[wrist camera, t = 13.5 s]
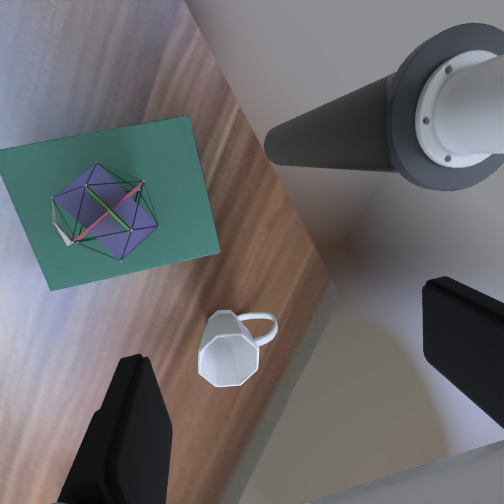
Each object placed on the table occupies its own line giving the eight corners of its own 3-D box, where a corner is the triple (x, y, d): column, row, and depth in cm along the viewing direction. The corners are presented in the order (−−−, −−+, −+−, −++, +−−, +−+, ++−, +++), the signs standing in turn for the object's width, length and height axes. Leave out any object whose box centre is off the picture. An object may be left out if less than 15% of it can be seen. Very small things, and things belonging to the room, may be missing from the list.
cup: (187, 311, 40) (185, 348, 32) (260, 282, 40) (274, 311, 33) (208, 354, 42) (210, 398, 34) (277, 326, 42) (294, 363, 35)
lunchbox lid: (189, 116, 27) (188, 114, 26) (220, 250, 31) (220, 252, 30) (-4, 151, 26) (-10, 151, 25) (54, 288, 29) (50, 291, 29)
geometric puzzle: (128, 133, 24) (44, 178, 18) (189, 200, 26) (131, 259, 21) (92, 178, 29) (16, 226, 23) (147, 233, 31) (90, 289, 25)
